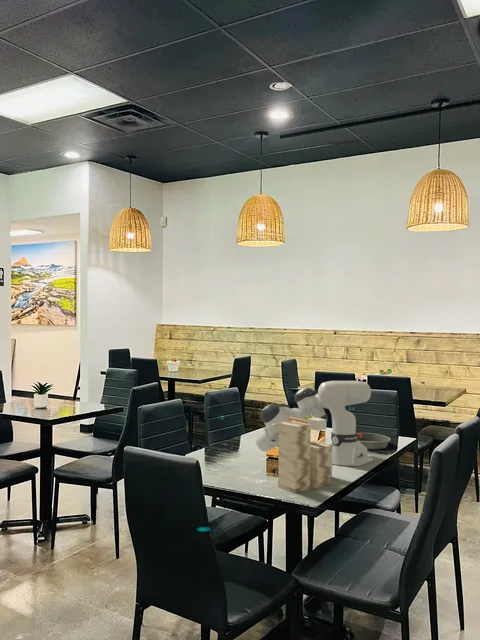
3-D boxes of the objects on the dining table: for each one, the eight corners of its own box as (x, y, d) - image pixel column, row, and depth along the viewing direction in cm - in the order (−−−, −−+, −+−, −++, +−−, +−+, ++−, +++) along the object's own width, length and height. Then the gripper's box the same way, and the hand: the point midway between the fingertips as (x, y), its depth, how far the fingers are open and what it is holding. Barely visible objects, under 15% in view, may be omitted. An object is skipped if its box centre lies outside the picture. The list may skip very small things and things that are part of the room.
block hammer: (293, 421, 249) (293, 412, 249) (326, 429, 233) (326, 419, 233) (284, 423, 246) (285, 413, 246) (317, 430, 230) (317, 420, 230)
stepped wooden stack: (313, 478, 241) (314, 418, 241) (330, 484, 233) (331, 421, 233) (278, 486, 229) (279, 422, 229) (294, 493, 221) (295, 426, 221)
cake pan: (382, 452, 293) (382, 443, 293) (337, 446, 306) (337, 438, 306) (396, 444, 314) (396, 435, 314) (353, 438, 327) (353, 430, 327)
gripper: (299, 436, 257) (319, 425, 247) (265, 441, 244) (283, 430, 235) (295, 423, 259) (314, 412, 250) (260, 428, 247) (278, 416, 237)
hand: (299, 420), depth 242 cm, fingers closed on block hammer, 2 cm apart
